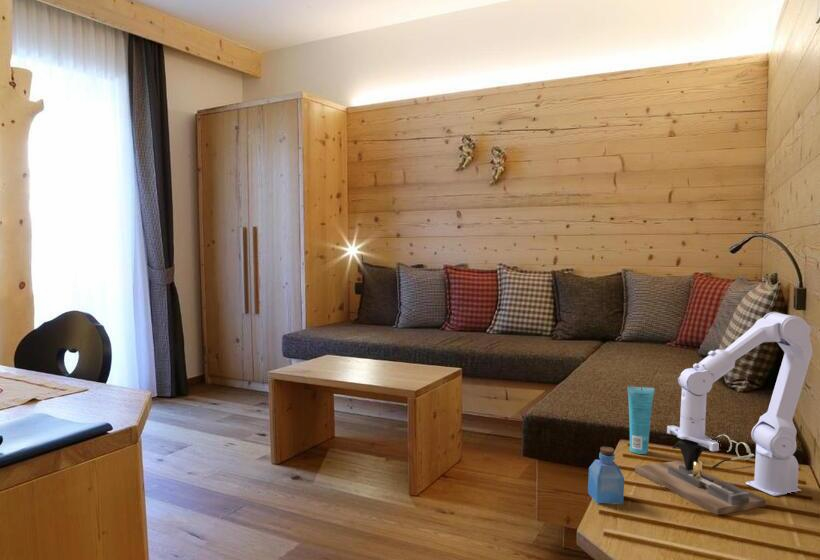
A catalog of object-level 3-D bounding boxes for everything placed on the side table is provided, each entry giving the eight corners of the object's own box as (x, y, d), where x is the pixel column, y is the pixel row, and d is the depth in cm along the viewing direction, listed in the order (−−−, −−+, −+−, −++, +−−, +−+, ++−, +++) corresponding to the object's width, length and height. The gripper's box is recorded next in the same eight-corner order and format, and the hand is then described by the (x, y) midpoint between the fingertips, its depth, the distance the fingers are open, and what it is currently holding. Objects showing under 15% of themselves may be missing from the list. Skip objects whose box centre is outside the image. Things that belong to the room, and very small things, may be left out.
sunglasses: (758, 466, 161) (759, 448, 161) (712, 470, 158) (713, 452, 158) (712, 445, 178) (713, 429, 178) (670, 448, 174) (671, 432, 174)
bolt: (693, 478, 147) (694, 458, 146) (734, 497, 135) (735, 476, 135) (687, 479, 146) (688, 459, 146) (728, 499, 135) (729, 477, 134)
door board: (679, 465, 159) (679, 453, 159) (765, 506, 135) (766, 491, 135) (635, 472, 154) (635, 459, 154) (716, 515, 130) (717, 499, 130)
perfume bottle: (613, 492, 141) (615, 444, 140) (623, 504, 135) (625, 453, 134) (587, 492, 141) (589, 444, 140) (596, 504, 134) (598, 453, 134)
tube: (648, 449, 172) (651, 385, 171) (654, 455, 167) (657, 389, 166) (623, 448, 173) (625, 384, 172) (627, 454, 168) (630, 388, 167)
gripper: (658, 410, 151) (656, 461, 152) (704, 426, 137) (701, 482, 138) (679, 408, 153) (677, 458, 154) (726, 424, 140) (723, 479, 141)
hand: (690, 469), depth 146 cm, fingers closed
